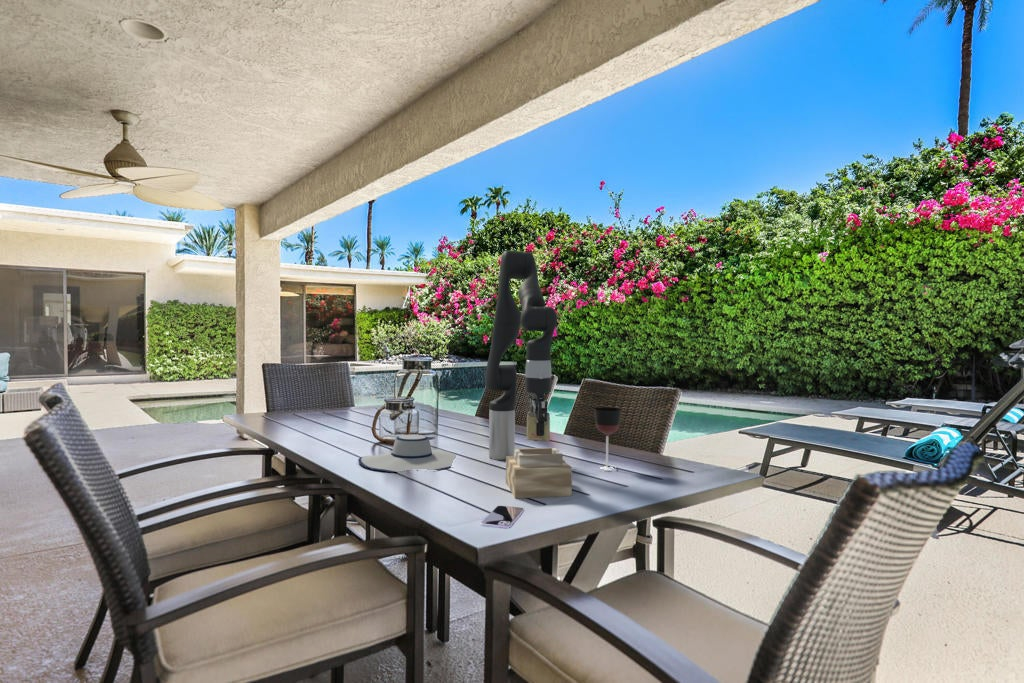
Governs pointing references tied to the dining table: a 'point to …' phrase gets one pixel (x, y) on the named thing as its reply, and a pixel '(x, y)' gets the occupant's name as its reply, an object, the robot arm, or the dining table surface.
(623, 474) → the dining table surface
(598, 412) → the wineglass
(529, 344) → the robot arm
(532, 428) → the lighter
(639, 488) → the dining table surface
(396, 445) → the sun hat
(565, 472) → the holder stand
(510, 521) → the mobile phone
